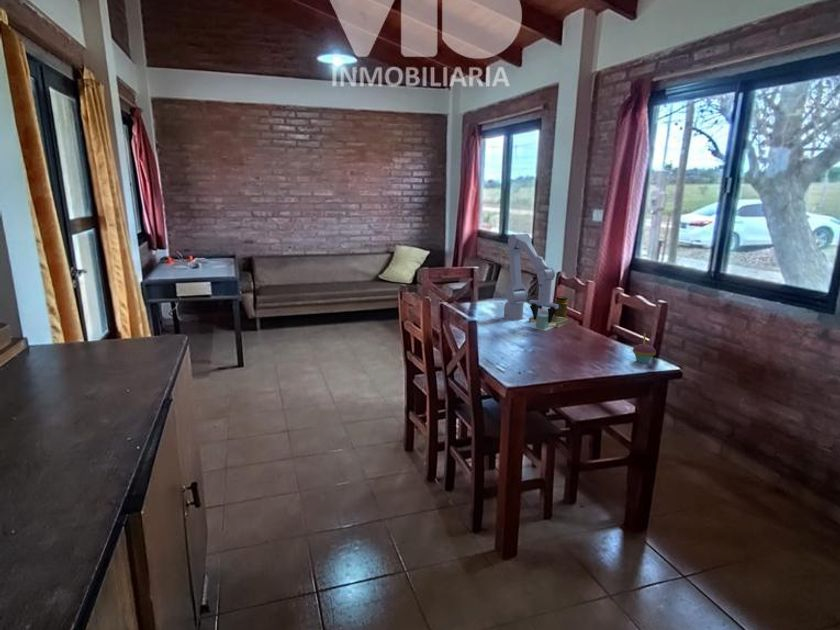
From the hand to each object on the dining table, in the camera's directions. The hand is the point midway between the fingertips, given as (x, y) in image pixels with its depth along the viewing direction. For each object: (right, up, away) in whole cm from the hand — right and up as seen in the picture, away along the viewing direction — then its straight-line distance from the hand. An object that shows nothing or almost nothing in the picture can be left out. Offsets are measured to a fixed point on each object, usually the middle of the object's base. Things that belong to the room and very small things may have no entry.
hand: (542, 320), depth 251 cm
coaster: (0, -4, +1) cm, 4 cm away
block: (0, -3, +1) cm, 3 cm away
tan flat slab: (+6, -2, +10) cm, 12 cm away
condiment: (+13, 0, +18) cm, 22 cm away
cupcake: (+30, -16, -45) cm, 56 cm away
